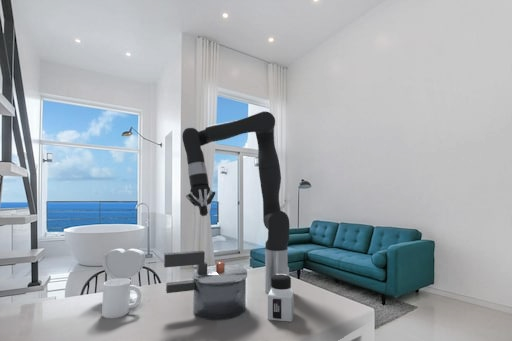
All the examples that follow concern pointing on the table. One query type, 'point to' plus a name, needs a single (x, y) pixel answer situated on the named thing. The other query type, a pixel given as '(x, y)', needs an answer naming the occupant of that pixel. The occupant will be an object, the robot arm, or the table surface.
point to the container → (281, 298)
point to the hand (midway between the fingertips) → (204, 215)
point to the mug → (118, 297)
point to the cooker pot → (214, 298)
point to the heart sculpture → (123, 264)
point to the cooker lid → (205, 268)
